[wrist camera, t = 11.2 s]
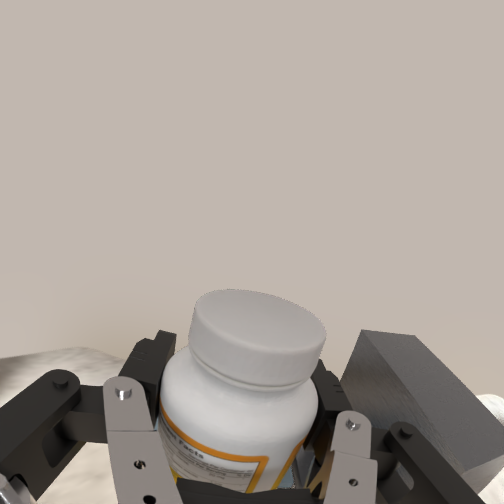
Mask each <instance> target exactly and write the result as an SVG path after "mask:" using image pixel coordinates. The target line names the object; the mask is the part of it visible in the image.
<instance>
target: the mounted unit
mask: <svg viewBox="0 0 504 504" xmlns="http://www.w3.org/2000/svg"><path fill="white" fill-rule="evenodd" d="M340 384H341V387H342V388H343V390H344V393H345V394H346V396H347V398H348V400H349V402H350V404H351V407H352V409H353V411H355V412H358V413H361V414H362V415H364V416H365V417H367V418H368V420H369V421H370V423H371V427H375V428H380V429H385V430H389V428H390V427H391V425H392V424H393V423H395V422H398V421H402V422H407V423H410V424H412V425H413V426H415V427H416V428H417V429H418V430H419V431H420V432H421V434H422V435H423V436H424V437H425V438H426V439H427V440H428V441H429V442H430V443H431V444H432V446H433V447H434V448H435V449H436V450H437V451H438V452H439V453H440V454H441V455H442V457H443V458H444V459H445V460H446V461H447V462H448V463H449V464H450V465H451V466H452V467H453V469H454V470H455V471H456V472H457V473H458V474H459V475H460V476H461V477H462V478H463V480H464V481H465V482H466V483H467V484H468V485H469V486H470V487H471V488H472V489H473V491H474V492H475V493H476V494H477V495H478V494H479V493H480V492H481V491H482V490H483V489H484V488H485V487H486V486H487V485H488V484H489V483H490V482H491V480H492V479H493V478H494V477H495V476H496V475H497V474H498V473H499V472H500V471H501V470H502V468H503V467H504V426H503V425H502V424H501V423H500V422H499V421H498V420H497V419H496V418H495V417H494V415H493V414H492V413H491V412H490V411H489V410H488V409H487V408H486V407H485V406H484V405H483V404H482V403H481V402H480V401H479V399H478V398H477V397H476V396H475V395H474V394H473V393H472V392H471V391H470V390H469V389H468V388H467V387H466V386H465V385H464V384H463V383H462V382H461V381H460V380H459V379H458V378H457V377H456V376H455V375H454V374H453V373H452V372H451V371H450V370H449V369H448V368H447V367H446V366H445V365H444V364H443V363H442V362H441V361H440V360H439V359H438V358H437V357H436V356H435V355H434V354H433V353H432V352H431V351H430V350H429V349H428V348H427V347H426V346H425V345H424V344H423V343H422V342H421V341H419V339H418V338H417V337H416V336H415V335H404V334H395V333H387V332H378V331H370V330H361V332H360V335H359V337H358V340H357V342H356V345H355V347H354V350H353V352H352V355H351V357H350V359H349V362H348V364H347V367H346V369H345V371H344V373H343V376H342V378H341V380H340ZM314 456H315V452H314V451H304V449H303V445H302V446H301V448H300V450H299V452H298V453H297V455H296V457H295V459H294V460H293V462H292V464H291V466H292V471H293V477H294V482H295V487H296V489H302V488H303V487H304V484H305V481H306V478H307V474H308V471H309V468H310V464H311V461H312V459H313V458H314ZM396 472H397V473H398V474H399V476H400V477H401V478H402V480H403V481H404V482H405V484H406V485H407V486H408V488H409V489H410V490H412V488H413V486H414V481H413V478H412V477H411V476H410V474H409V473H408V472H407V471H406V469H405V468H404V467H403V466H402V464H401V465H400V467H399V468H398V469H397V470H396ZM375 504H377V503H376V501H375Z"/></svg>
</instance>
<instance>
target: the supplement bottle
mask: <svg viewBox="0 0 504 504" xmlns="http://www.w3.org/2000/svg"><path fill="white" fill-rule="evenodd" d="M325 339H326V330H325V327H324V326H323V324H322V322H321V321H320V320H319V319H318V318H317V317H316V316H315V315H313V314H312V313H311V312H309V311H308V310H306V309H304V308H303V307H300V306H299V305H297V304H294V303H292V302H290V301H287V300H285V299H282V298H279V297H276V296H273V295H269V294H264V293H260V292H254V291H247V290H235V289H227V290H217V291H213V292H209V293H206V294H205V295H203V296H201V297H200V298H199V299H198V301H197V302H196V305H195V308H194V313H193V318H192V323H191V327H190V332H189V345H188V346H186V347H184V348H182V349H181V350H179V351H178V352H177V353H175V354H174V355H173V356H172V357H171V359H170V360H169V361H168V363H167V365H166V366H165V369H164V371H163V375H162V379H161V387H160V398H159V414H158V430H157V431H158V433H159V435H160V438H161V442H162V445H163V448H164V451H165V454H166V457H167V461H168V464H169V467H170V469H171V472H172V475H173V478H174V481H175V484H176V481H177V477H180V478H185V479H190V480H196V481H202V482H209V483H213V484H216V485H219V486H222V487H225V488H229V489H232V490H235V491H239V492H242V493H254V492H261V491H267V490H273V489H277V487H278V486H279V484H280V482H281V481H282V479H283V477H284V476H285V474H286V472H287V471H288V469H289V467H290V466H291V464H292V462H293V460H294V459H295V457H296V455H297V453H298V452H299V450H300V448H301V446H302V444H303V443H304V441H305V439H306V437H307V435H308V433H309V431H310V429H311V427H312V424H313V422H314V420H315V417H316V414H317V410H318V396H317V391H316V388H315V386H314V383H313V382H312V380H311V378H310V376H311V375H312V373H313V372H314V370H315V368H316V366H317V363H318V360H319V356H320V354H321V351H322V348H323V345H324V342H325Z"/></svg>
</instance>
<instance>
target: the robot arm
mask: <svg viewBox="0 0 504 504" xmlns="http://www.w3.org/2000/svg"><path fill="white" fill-rule="evenodd" d="M175 343H176V334H174V333H170V332H166V331H162V330H159V332H158V333H157V335H156V337H155V339H154V340H150V339H146V338H144V339H143V340H141V341H139V342H138V343H136V345H135V347H134V349H133V351H132V352H131V354H130V355H129V357H128V359H127V361H126V362H125V364H124V366H123V368H122V370H121V371H120V373H119V375H118V377H113V378H110V379H108V380H107V381H106V382H105V383H104V385H103V386H88V385H80V381H79V379H78V377H77V376H76V375H75V374H73V373H72V372H70V371H67V370H62V369H56V370H51V371H49V372H47V373H45V374H44V375H43V376H41V377H40V378H39V379H37V380H36V381H35V382H34V383H32V384H31V385H30V386H28V387H27V388H26V389H24V390H23V391H22V392H20V393H19V394H18V395H16V396H15V397H14V398H13V399H11V400H10V401H9V402H7V403H6V404H5V405H3V406H2V407H1V408H0V504H37V502H36V501H37V500H38V499H39V498H40V496H41V495H42V494H43V493H44V492H45V491H46V489H47V488H48V487H49V486H50V485H51V483H52V482H53V481H54V480H55V479H56V478H57V476H58V475H59V474H60V473H61V472H62V470H63V469H64V468H65V467H66V466H67V465H68V463H69V462H70V461H71V460H72V459H73V458H74V456H75V455H76V454H77V453H78V452H79V450H80V449H81V448H82V447H83V446H84V445H85V443H86V442H94V443H106V444H108V448H109V455H110V461H111V468H112V473H113V479H114V484H115V489H116V494H117V499H118V503H119V504H375V501H376V503H377V504H485V503H484V502H483V500H482V499H481V498H480V497H479V496H478V495H477V494H476V493H475V492H474V491H473V489H472V488H471V487H470V486H469V485H468V484H467V483H466V482H465V481H464V480H463V478H462V477H461V476H460V475H459V474H458V473H457V472H456V471H455V470H454V469H453V467H452V466H451V465H450V464H449V463H448V462H447V461H446V460H445V459H444V458H443V457H442V455H441V454H440V453H439V452H438V451H437V450H436V449H435V448H434V447H433V446H432V444H431V443H430V442H429V441H428V440H427V439H426V438H425V437H424V436H423V435H422V434H421V432H420V431H419V430H418V429H417V428H416V427H415V426H413V425H412V424H410V423H407V422H402V421H398V422H395V423H393V424H392V425H391V427H390V428H389V430H385V429H380V428H375V427H371V423H370V421H369V420H368V418H367V417H365V416H364V415H362V414H361V413H358V412H355V411H353V409H352V407H351V404H350V402H349V400H348V398H347V396H346V394H345V393H344V390H343V388H342V387H341V384H340V382H339V380H338V378H337V377H336V376H335V375H334V374H333V373H332V372H331V371H326V369H325V367H324V364H323V362H322V360H321V359H319V360H318V363H317V366H316V368H315V370H314V372H313V373H312V375H311V376H310V378H311V380H312V382H313V383H314V386H315V388H316V391H317V396H318V410H317V414H316V417H315V420H314V422H313V424H312V427H311V429H310V431H309V433H308V435H307V437H306V439H305V441H304V443H303V444H302V445H303V449H304V451H314V452H315V456H314V458H313V459H312V461H311V464H310V468H309V471H308V474H307V478H306V481H305V484H304V487H303V488H302V489H283V488H279V489H273V490H267V491H261V492H254V493H242V492H239V491H235V490H232V489H229V488H225V487H222V486H219V485H216V484H213V483H209V482H202V481H196V480H190V479H185V478H180V477H177V481H176V484H175V481H174V478H173V475H172V472H171V469H170V467H169V464H168V461H167V457H166V454H165V451H164V448H163V445H162V442H161V438H160V435H159V433H158V431H157V430H154V429H155V425H156V422H157V418H158V414H159V398H160V387H161V379H162V375H163V371H164V369H165V366H166V365H167V363H168V361H169V360H170V359H171V357H172V356H173V355H174V351H175ZM401 464H402V466H403V467H404V468H405V469H406V471H407V472H408V473H409V474H410V476H411V477H412V478H413V481H414V486H413V488H412V490H410V489H409V488H408V486H407V485H406V484H405V482H404V481H403V480H402V478H401V477H400V476H399V474H398V473H397V472H396V470H397V469H398V468H399V467H400V465H401Z"/></svg>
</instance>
